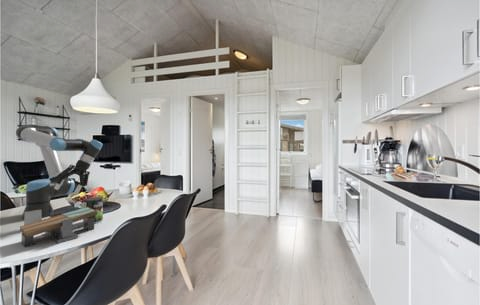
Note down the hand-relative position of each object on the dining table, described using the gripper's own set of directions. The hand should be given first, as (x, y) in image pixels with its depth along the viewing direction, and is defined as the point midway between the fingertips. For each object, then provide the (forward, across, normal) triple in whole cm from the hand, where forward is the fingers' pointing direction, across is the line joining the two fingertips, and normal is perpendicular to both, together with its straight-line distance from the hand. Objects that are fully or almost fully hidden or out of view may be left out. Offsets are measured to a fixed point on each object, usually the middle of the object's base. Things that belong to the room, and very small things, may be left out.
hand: (65, 192), depth 137 cm
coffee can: (+10, +8, -23) cm, 26 cm away
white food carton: (+23, -8, -4) cm, 24 cm away
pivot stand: (+18, -13, -28) cm, 36 cm away
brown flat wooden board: (+12, -16, -26) cm, 33 cm away
